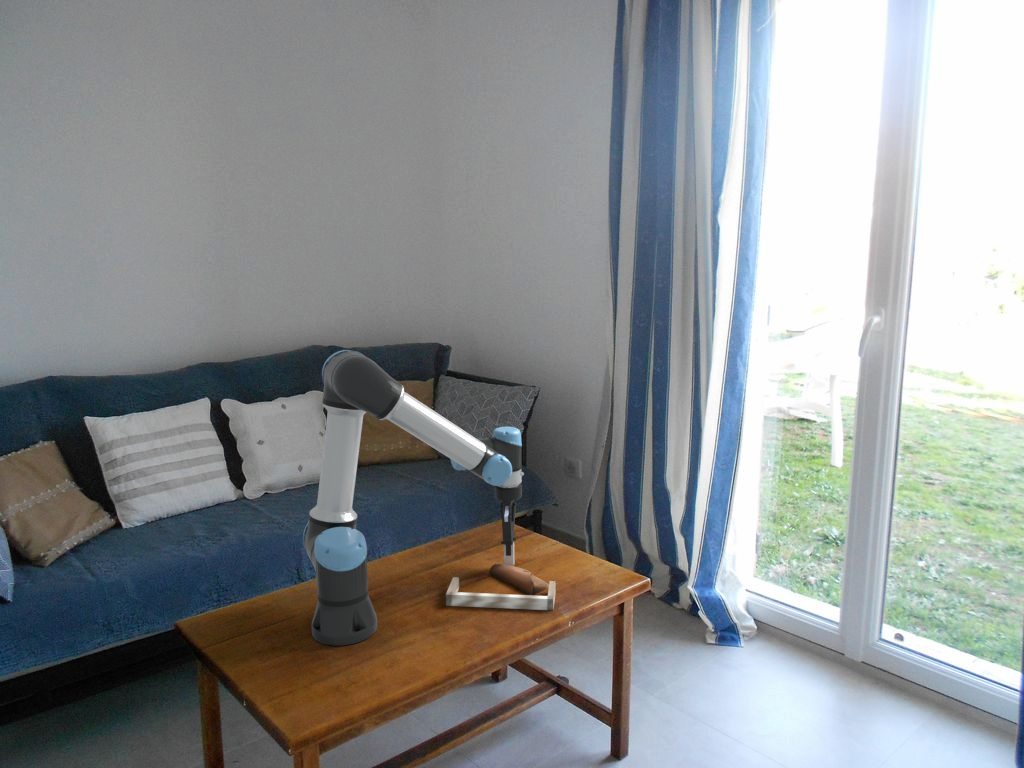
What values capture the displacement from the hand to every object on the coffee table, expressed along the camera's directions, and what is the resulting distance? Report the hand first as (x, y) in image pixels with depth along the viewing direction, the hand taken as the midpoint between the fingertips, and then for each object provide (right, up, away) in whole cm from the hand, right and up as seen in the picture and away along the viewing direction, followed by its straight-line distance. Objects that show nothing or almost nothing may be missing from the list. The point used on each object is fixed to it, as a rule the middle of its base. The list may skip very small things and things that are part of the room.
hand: (509, 564), depth 208 cm
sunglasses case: (+3, -4, -6) cm, 8 cm away
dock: (-2, -5, -17) cm, 17 cm away
